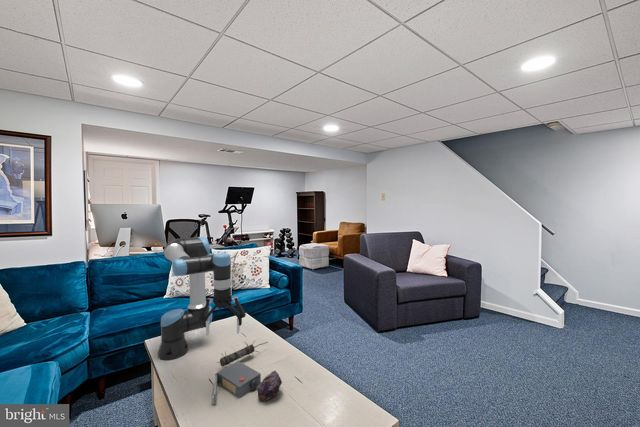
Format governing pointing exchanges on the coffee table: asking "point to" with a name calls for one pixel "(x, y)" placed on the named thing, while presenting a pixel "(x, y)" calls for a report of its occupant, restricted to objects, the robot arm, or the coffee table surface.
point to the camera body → (239, 379)
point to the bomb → (238, 354)
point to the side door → (215, 389)
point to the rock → (269, 386)
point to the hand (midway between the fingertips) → (223, 333)
